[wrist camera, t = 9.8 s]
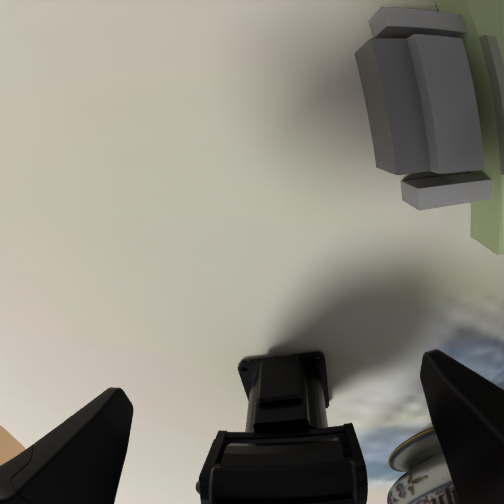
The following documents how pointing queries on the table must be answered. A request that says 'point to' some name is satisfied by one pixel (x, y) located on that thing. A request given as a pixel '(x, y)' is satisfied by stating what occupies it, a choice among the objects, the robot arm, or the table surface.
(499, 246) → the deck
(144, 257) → the table surface
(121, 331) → the table surface
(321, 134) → the table surface
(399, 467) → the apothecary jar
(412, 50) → the grey stepped block
